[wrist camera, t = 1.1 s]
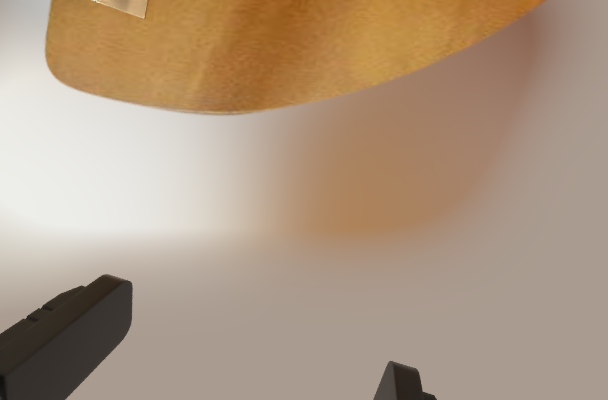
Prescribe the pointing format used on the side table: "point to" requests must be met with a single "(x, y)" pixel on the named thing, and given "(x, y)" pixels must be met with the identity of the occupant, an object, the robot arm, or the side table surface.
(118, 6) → the block
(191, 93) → the side table surface
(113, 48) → the side table surface
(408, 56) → the side table surface
